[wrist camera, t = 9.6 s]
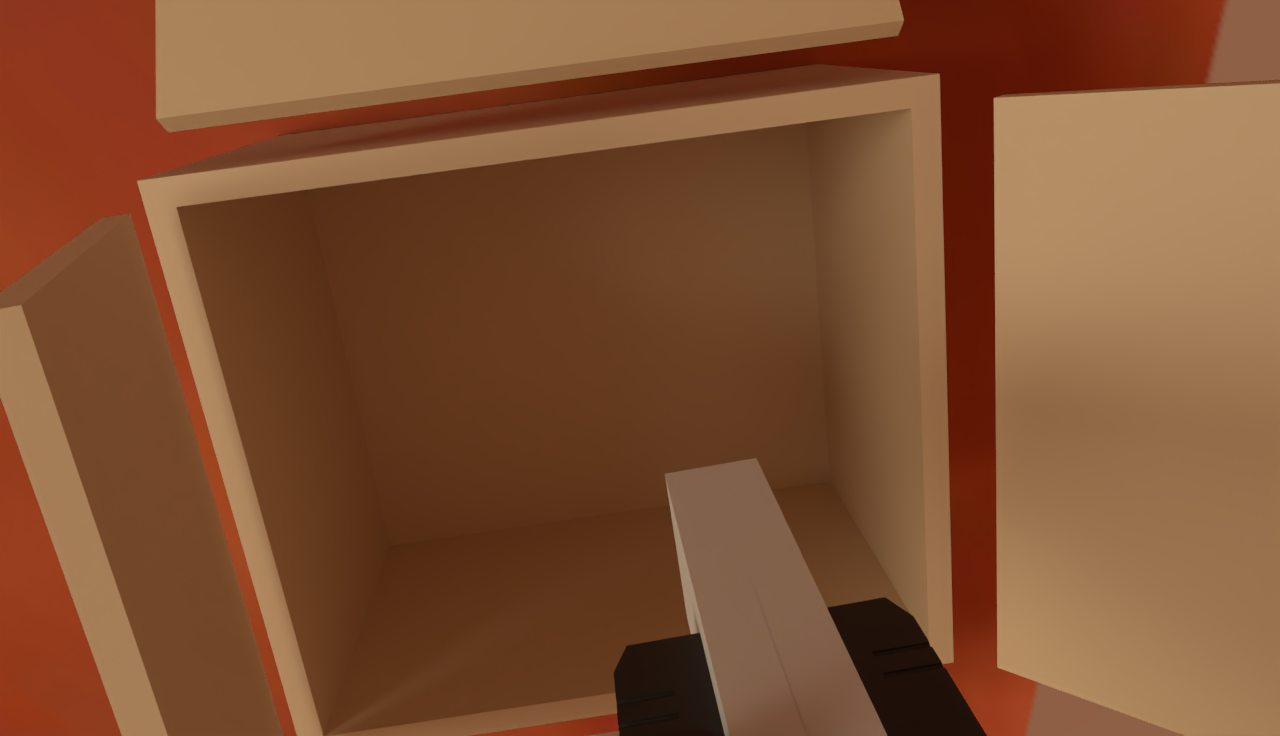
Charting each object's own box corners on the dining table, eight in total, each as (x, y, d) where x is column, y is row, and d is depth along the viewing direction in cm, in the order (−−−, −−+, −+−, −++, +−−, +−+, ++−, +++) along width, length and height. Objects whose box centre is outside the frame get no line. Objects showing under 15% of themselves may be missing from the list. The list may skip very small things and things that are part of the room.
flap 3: (1445, 830, 17) (1449, 812, 18) (1582, 67, 13) (1584, 63, 13) (997, 667, 23) (1006, 656, 23) (993, 97, 19) (1004, 94, 19)
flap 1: (294, 772, 22) (272, 779, 22) (130, 213, 18) (101, 218, 18) (297, 1115, 15) (263, 1129, 15) (21, 305, 11) (-30, 314, 11)
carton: (379, 558, 33) (305, 763, 24) (279, 135, 29) (137, 180, 19) (844, 490, 34) (953, 665, 24) (817, 63, 29) (939, 73, 20)
